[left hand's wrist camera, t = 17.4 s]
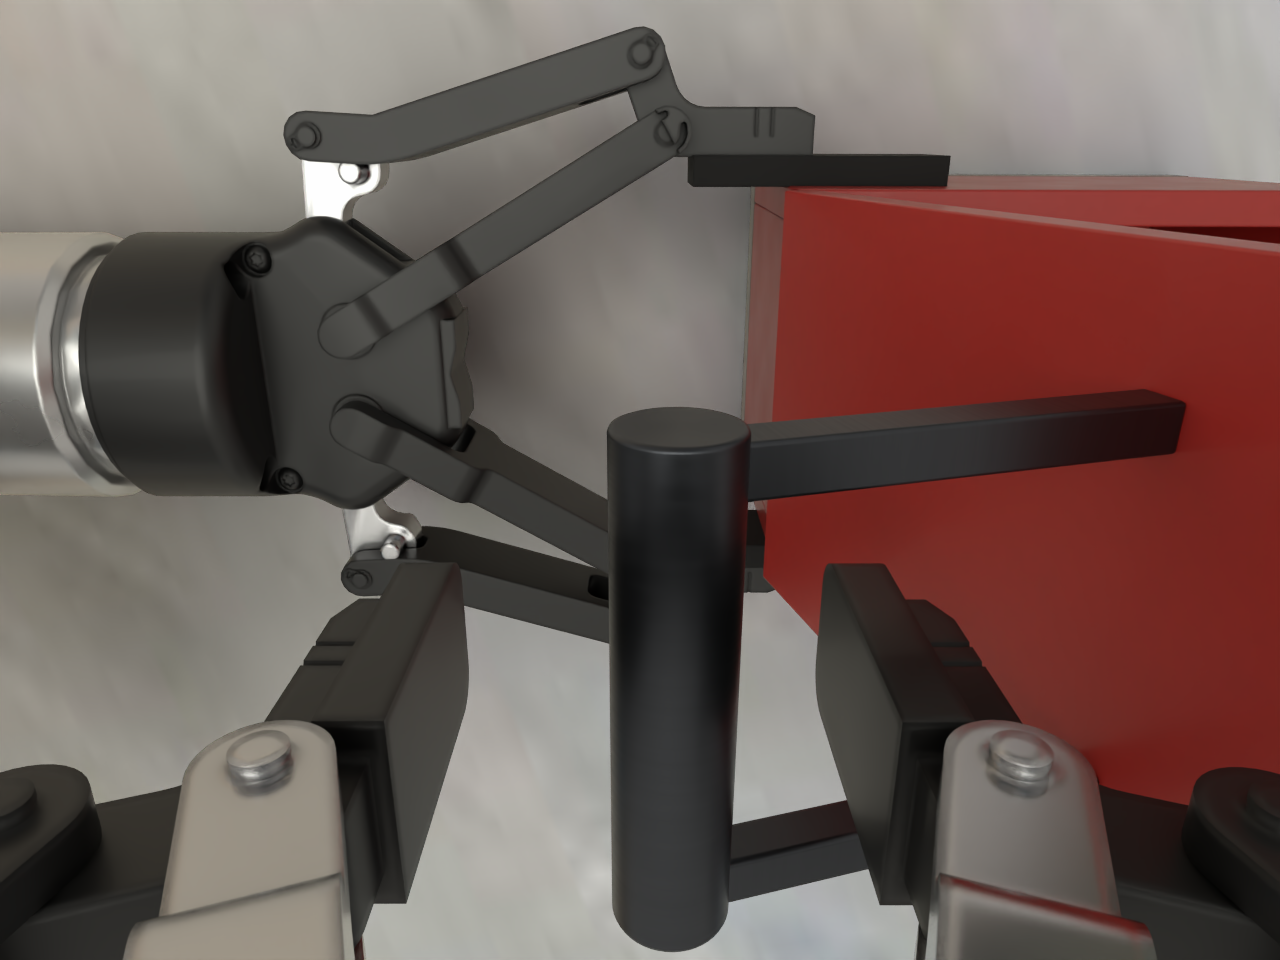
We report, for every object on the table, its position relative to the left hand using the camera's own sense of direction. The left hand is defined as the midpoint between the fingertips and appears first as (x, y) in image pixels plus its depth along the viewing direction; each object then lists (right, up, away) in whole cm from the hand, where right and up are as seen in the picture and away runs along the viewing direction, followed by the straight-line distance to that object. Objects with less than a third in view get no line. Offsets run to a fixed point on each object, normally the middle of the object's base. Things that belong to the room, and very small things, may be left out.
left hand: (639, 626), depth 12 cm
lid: (+6, +2, +4) cm, 8 cm away
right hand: (+8, +5, +14) cm, 17 cm away
